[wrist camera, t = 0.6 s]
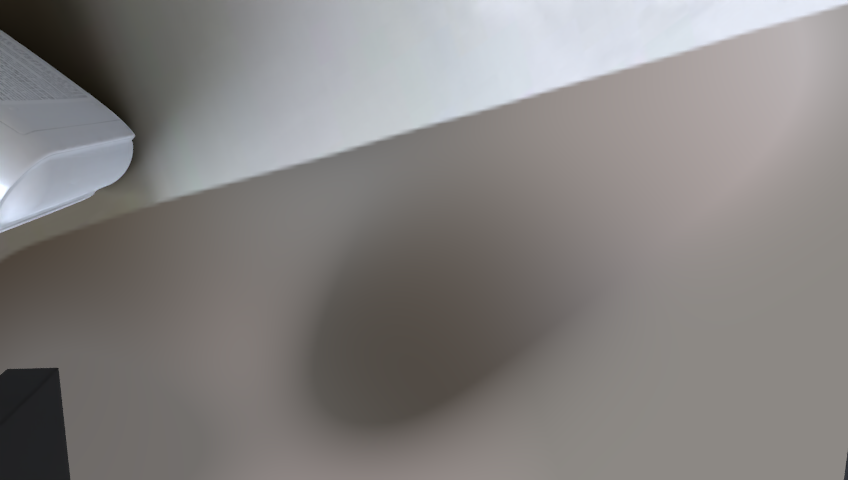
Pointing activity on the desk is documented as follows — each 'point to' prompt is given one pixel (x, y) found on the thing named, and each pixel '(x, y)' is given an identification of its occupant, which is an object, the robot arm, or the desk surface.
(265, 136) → the desk surface
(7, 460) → the robot arm
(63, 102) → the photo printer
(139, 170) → the desk surface
